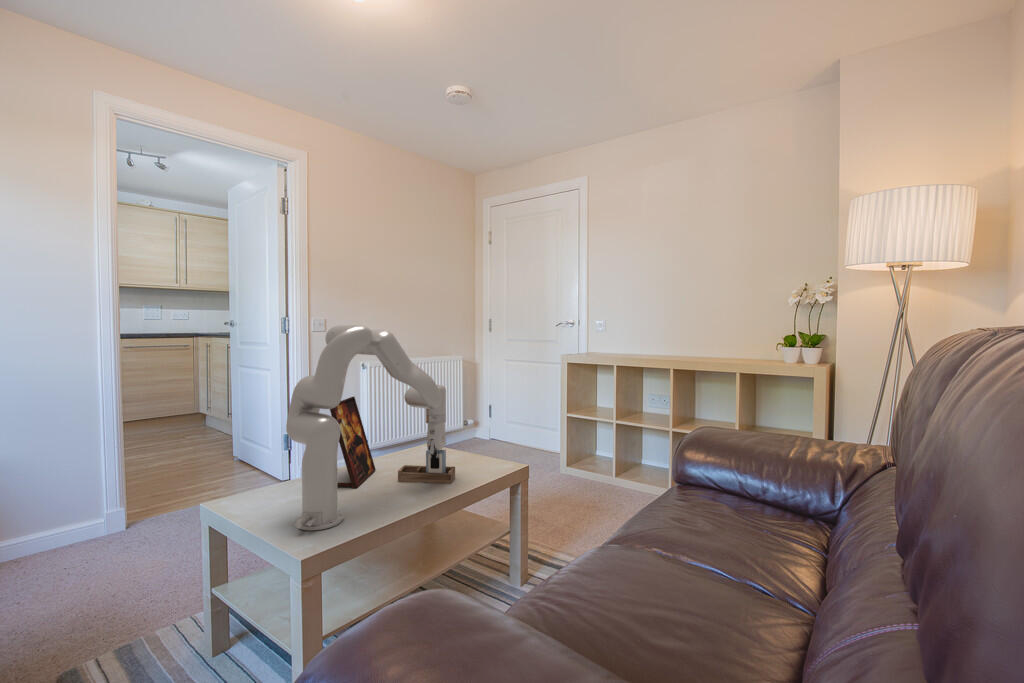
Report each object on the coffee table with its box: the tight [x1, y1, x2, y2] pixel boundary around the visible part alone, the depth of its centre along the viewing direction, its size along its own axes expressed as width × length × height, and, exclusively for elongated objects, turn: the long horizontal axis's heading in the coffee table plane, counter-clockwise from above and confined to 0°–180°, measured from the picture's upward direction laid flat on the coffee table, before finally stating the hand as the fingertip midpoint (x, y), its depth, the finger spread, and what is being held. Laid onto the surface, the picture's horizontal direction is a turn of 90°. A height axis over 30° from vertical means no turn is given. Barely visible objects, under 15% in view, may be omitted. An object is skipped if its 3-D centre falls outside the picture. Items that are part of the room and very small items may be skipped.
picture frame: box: [329, 395, 377, 489], centre depth 173 cm, size 21×11×30 cm, turn 179°
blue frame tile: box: [425, 449, 447, 473], centre depth 173 cm, size 2×7×9 cm, turn 85°
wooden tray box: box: [397, 464, 456, 484], centre depth 173 cm, size 7×20×4 cm, turn 84°
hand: (436, 466), depth 173 cm, fingers closed on blue frame tile, 2 cm apart
